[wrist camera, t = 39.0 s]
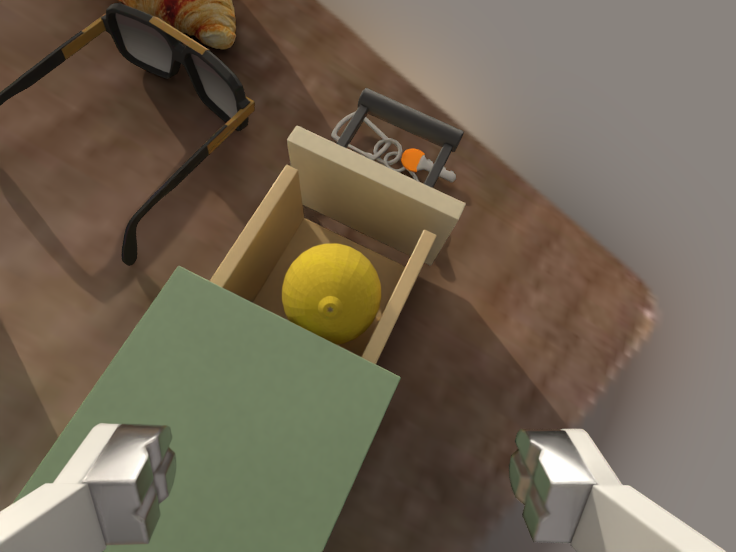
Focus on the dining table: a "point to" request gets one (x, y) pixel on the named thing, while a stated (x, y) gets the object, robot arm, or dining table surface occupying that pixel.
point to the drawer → (347, 216)
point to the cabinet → (237, 421)
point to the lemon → (332, 292)
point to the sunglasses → (161, 57)
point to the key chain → (396, 153)
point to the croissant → (195, 18)
